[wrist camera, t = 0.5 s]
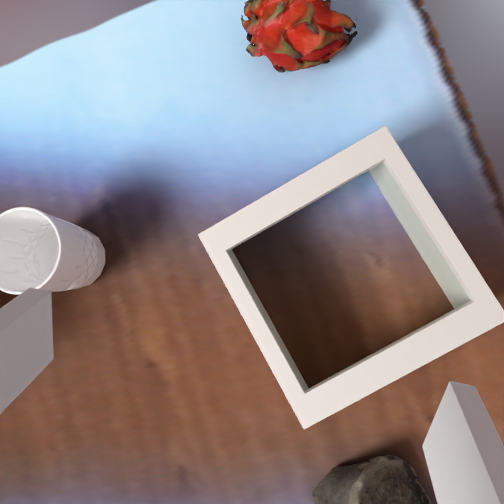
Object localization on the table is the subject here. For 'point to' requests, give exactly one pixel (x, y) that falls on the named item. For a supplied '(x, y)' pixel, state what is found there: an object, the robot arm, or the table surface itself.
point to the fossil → (372, 484)
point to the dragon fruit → (295, 32)
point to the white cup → (46, 252)
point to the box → (423, 237)
